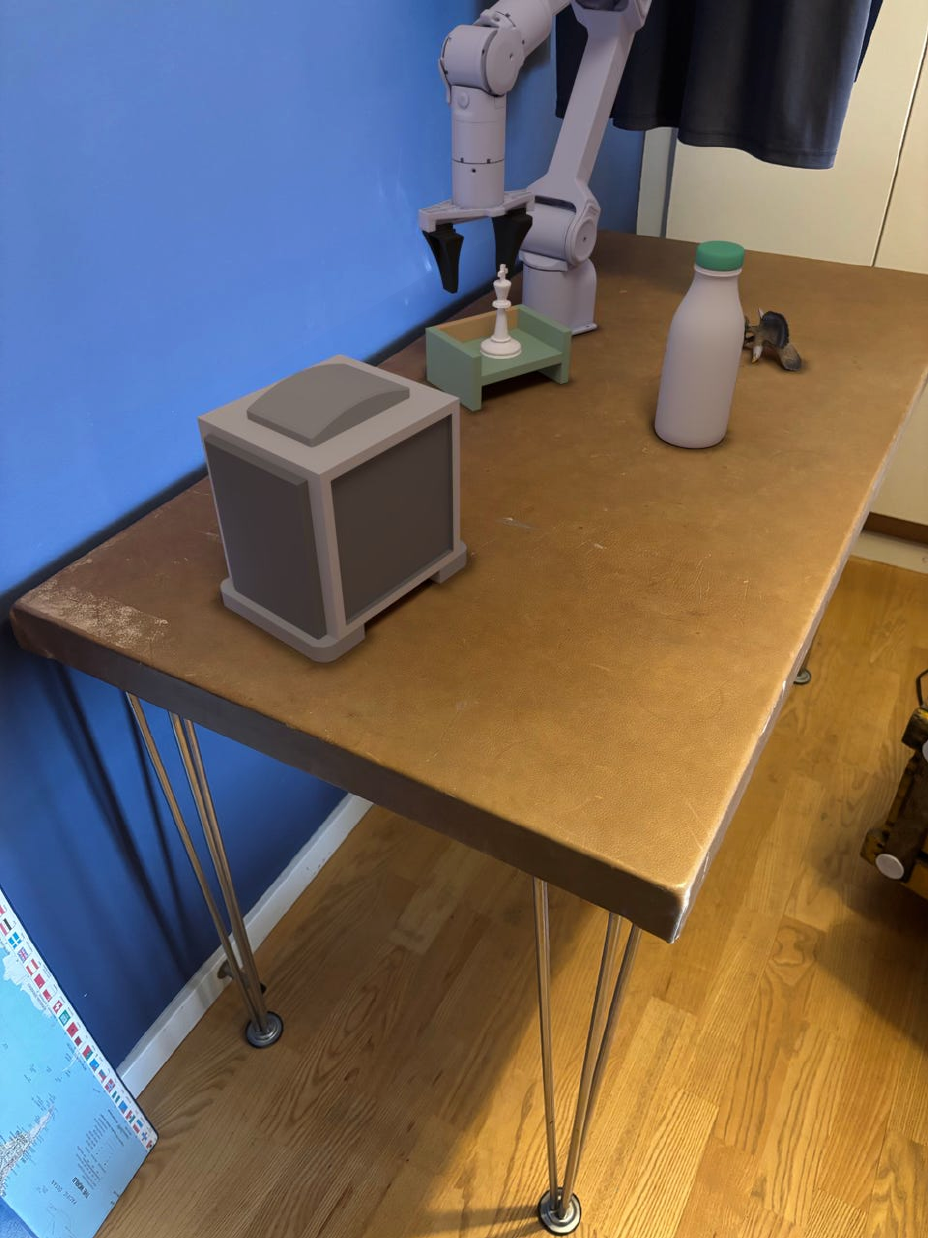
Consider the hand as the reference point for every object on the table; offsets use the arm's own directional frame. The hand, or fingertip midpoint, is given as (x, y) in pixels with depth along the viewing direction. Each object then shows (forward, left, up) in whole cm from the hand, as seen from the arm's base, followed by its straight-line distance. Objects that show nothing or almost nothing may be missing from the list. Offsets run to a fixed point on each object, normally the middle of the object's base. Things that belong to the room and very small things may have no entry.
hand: (477, 284), depth 107 cm
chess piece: (0, +5, -7) cm, 8 cm away
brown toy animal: (-32, +18, -11) cm, 38 cm away
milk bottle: (-10, +27, -11) cm, 31 cm away
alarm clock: (+34, +30, -11) cm, 47 cm away
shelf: (0, +5, -10) cm, 11 cm away
